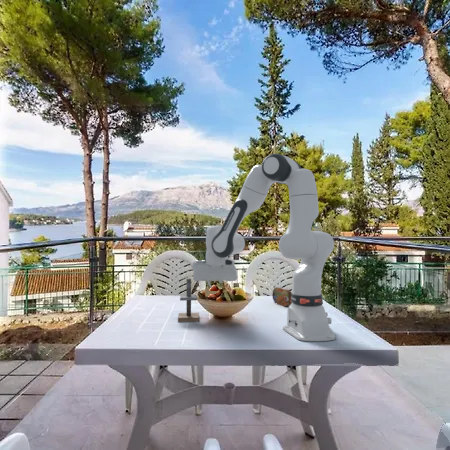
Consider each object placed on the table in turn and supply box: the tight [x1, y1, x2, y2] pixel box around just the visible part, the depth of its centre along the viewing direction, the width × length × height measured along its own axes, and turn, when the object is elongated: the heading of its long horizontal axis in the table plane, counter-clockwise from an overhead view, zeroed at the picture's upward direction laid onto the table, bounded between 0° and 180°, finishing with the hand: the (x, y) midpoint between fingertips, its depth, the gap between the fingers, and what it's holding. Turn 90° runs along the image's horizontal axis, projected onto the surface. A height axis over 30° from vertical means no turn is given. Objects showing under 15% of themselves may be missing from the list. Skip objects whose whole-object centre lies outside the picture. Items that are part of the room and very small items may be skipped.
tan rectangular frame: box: [204, 287, 218, 298], centre depth 170 cm, size 14×9×2 cm, turn 4°
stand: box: [177, 278, 200, 323], centre depth 167 cm, size 9×9×18 cm
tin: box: [271, 287, 292, 307], centre depth 194 cm, size 15×3×8 cm, turn 25°
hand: (215, 290), depth 175 cm, fingers closed on tan rectangular frame, 2 cm apart
